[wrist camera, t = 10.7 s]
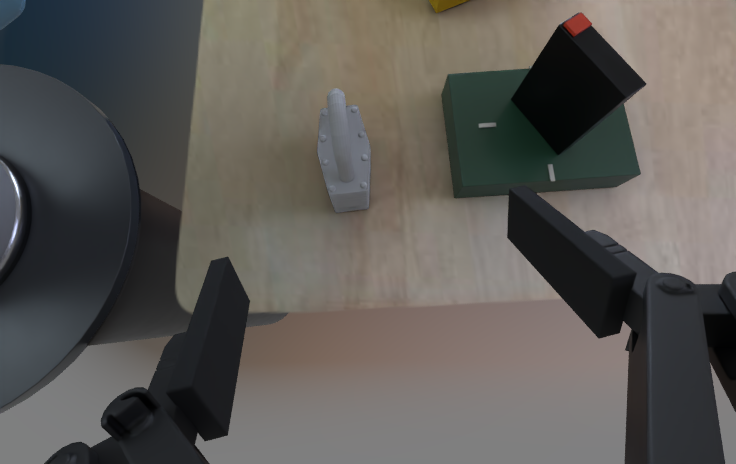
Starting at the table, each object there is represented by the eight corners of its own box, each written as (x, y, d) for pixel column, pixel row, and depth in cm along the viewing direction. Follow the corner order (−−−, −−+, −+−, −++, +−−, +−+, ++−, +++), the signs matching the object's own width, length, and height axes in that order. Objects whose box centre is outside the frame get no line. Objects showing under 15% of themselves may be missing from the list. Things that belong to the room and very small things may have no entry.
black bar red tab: (573, 145, 29) (650, 81, 21) (557, 155, 29) (629, 95, 21) (525, 89, 30) (581, 8, 22) (510, 99, 30) (560, 21, 22)
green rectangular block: (454, 199, 31) (463, 187, 28) (441, 93, 34) (448, 71, 30) (616, 188, 31) (643, 174, 28) (592, 83, 34) (614, 59, 31)
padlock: (321, 138, 33) (299, 64, 23) (365, 133, 33) (363, 57, 23) (328, 214, 31) (309, 170, 21) (375, 209, 31) (377, 162, 22)
